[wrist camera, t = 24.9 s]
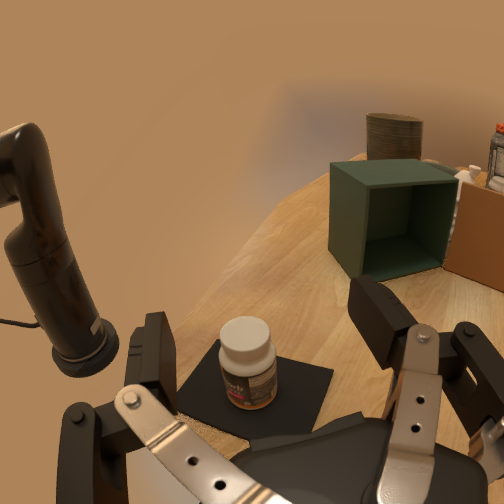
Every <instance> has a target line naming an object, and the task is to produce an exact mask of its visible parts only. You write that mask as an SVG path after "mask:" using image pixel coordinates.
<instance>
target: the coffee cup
mask: <svg viewBox="0 0 504 504" xmlns="http://www.w3.org/2000/svg"><path fill="white" fill-rule="evenodd" d="M489 186H490V190H493V191H496V192H499V193H502V194H504V178H503V177H499V176H494V177H493V180H491V181H489Z"/></svg>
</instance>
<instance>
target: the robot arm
mask: <svg viewBox="0 0 504 504" xmlns="http://www.w3.org/2000/svg"><path fill="white" fill-rule="evenodd" d="M17 202H20V203H21V208H22V213H23V221H22V223H21V224H20V225H19V226H17V227H16V228H15V229H14V230H13V231H12V232H11V233H10V234H9V235H8V236H7V238H6V239H5V242H4V250H5V253H6V255H7V257H8V260H9V262H10V264H11V267H12V269H13V271H14V273H15V276H16V277H17V280H18V282H19V283H20V286H21V288H22V290H23V292H24V294H25V296H26V298H27V300H28V302H29V303H30V305H31V307H32V309H33V311H34V313H35V318H36V319H37V321H38V322H37V323H34V324H28V323H22V322H17V321H11V320H4V319H0V323H4V324H10V325H16V326H20V327H26V328H37V327H41V328H42V329H43V330H45V332H46V334H47V335H48V337H49V339H50V341H51V342H52V344H53V346H54V347H55V349H56V351H57V353H58V355H59V356H60V358H61V359H62V360H64V361H65V362H68V363H73V364H76V363H82V362H85V361H88V360H90V359H92V358H93V357H95V356H96V355H97V354H99V353H100V352H101V351H102V349H103V348H104V347H105V345H106V343H107V340H108V331H107V329H106V327H105V325H104V324H103V322H102V320H101V318H100V316H99V314H98V311H97V309H96V307H95V305H94V302H93V300H92V298H91V296H90V293H89V291H88V289H87V286H86V284H85V281H84V279H83V276H82V274H81V272H80V269H79V266H78V264H77V261H76V259H75V256H74V254H73V251H72V248H71V246H70V242H69V240H68V237H67V234H66V231H65V228H64V224H63V217H62V211H61V206H60V202H59V198H58V195H57V190H56V186H55V181H54V176H53V171H52V165H51V160H50V155H49V150H48V146H47V143H46V140H45V138H44V135H43V133H42V131H41V130H40V128H39V127H38V126H37V125H35V124H34V123H23V124H20V125H18V126H16V127H13V128H10V129H8V130H6V131H4V132H2V133H0V208H2V207H5V206H8V205H11V204H14V203H17ZM348 313H349V316H350V318H351V320H352V321H353V323H354V324H355V326H356V328H357V329H358V331H359V332H360V334H361V336H362V337H363V339H364V341H365V342H366V344H367V345H368V347H369V349H370V350H371V352H372V354H373V355H374V357H375V359H376V360H377V362H378V364H379V365H380V367H381V369H382V370H385V369H387V368H390V367H392V369H393V370H394V372H393V374H392V378H391V383H390V388H389V392H388V396H387V401H386V405H385V409H384V412H383V414H382V417H381V419H380V418H364V416H363V414H362V412H361V411H359V412H357V413H354V414H351V415H347V416H344V417H341V418H338V419H335V420H333V421H332V422H330V423H328V424H326V425H324V426H323V427H321V428H319V429H317V430H315V431H314V432H312V433H309V434H277V435H273V436H268V437H263V438H258V439H253V440H249V443H250V447H249V448H247V449H245V450H243V451H241V452H239V453H238V454H236V455H235V456H233V457H232V458H231V459H230V460H227V459H226V458H225V457H224V456H223V455H221V454H220V453H219V452H218V451H217V450H215V449H214V448H213V447H212V446H211V445H209V444H208V443H207V442H206V441H205V440H204V439H202V438H201V437H200V436H199V435H198V434H197V433H196V432H195V431H194V430H192V429H191V428H190V427H189V426H188V425H187V424H185V423H184V422H180V421H178V420H177V419H176V418H175V417H174V415H178V413H177V385H176V347H175V341H174V337H173V335H172V332H171V329H170V326H169V323H168V320H167V317H166V314H165V312H164V311H163V312H155V313H148V314H146V319H145V327H137V328H136V329H135V331H134V332H133V334H132V336H131V338H130V344H129V351H128V359H127V366H126V374H125V383H124V387H123V388H122V389H121V390H120V391H119V392H118V393H117V394H116V396H115V399H114V401H112V402H110V403H107V404H104V405H101V406H98V407H96V408H93V407H92V406H91V405H89V404H88V403H84V402H78V403H74V404H72V405H71V406H69V407H68V408H67V409H66V411H65V413H64V415H63V419H62V427H61V435H60V444H59V455H58V467H57V486H56V504H129V500H128V487H127V473H126V472H127V471H126V453H129V452H132V451H135V450H137V449H140V448H143V447H147V448H148V449H149V450H150V451H151V452H152V454H154V456H155V457H156V458H157V459H158V460H159V461H160V462H161V463H162V464H163V465H164V466H165V468H166V469H167V470H168V471H169V472H170V473H171V474H172V475H173V476H174V477H175V478H176V479H177V480H178V481H179V482H180V483H181V484H182V485H183V486H185V487H186V488H187V489H188V490H189V491H190V492H191V493H192V494H193V495H194V496H195V497H196V498H197V499H198V500H200V501H201V502H200V503H199V504H488V485H489V484H491V483H492V482H493V481H495V480H498V479H502V478H504V359H503V358H502V356H501V355H500V354H499V352H498V351H497V350H496V348H495V347H494V346H493V345H492V343H491V342H490V341H489V339H488V338H487V337H486V336H485V334H484V333H483V332H482V331H481V330H480V328H479V327H478V326H477V325H475V324H473V323H471V322H460V323H458V324H457V325H456V327H455V329H454V331H453V332H442V333H438V332H437V331H436V330H435V329H434V328H433V327H431V326H429V325H426V324H419V323H418V322H417V321H416V320H415V318H414V317H413V316H412V315H411V313H410V312H409V311H408V310H407V309H406V307H405V306H404V305H403V304H401V301H400V300H399V299H398V298H396V295H395V294H394V293H393V292H392V291H391V290H390V289H389V288H388V287H386V286H384V285H383V284H381V283H379V284H377V283H376V282H375V281H374V280H373V279H372V277H371V276H370V275H363V276H358V277H353V278H352V279H351V282H350V290H349V298H348ZM467 366H468V368H469V369H470V371H471V372H472V374H473V375H474V377H475V378H476V381H477V385H476V384H475V382H474V381H473V379H472V377H471V376H470V374H469V373H468V371H467V370H466V368H467ZM442 389H443V391H444V393H445V394H446V396H447V398H448V400H449V401H450V403H451V405H452V407H453V408H454V410H455V412H456V414H457V415H458V417H459V419H460V421H461V423H462V425H463V426H464V428H465V430H466V432H467V434H468V436H469V438H470V441H469V452H468V456H466V455H464V454H461V453H459V452H457V451H454V450H452V449H450V448H447V447H445V446H443V445H440V444H438V443H436V442H435V440H436V434H437V427H438V420H439V411H440V402H441V391H442Z"/></svg>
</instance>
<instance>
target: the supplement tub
mask: <svg viewBox="0 0 504 504" xmlns="http://www.w3.org/2000/svg"><path fill="white" fill-rule="evenodd" d="M494 176H499V177H503V178H504V124H499V123H497V126H496V133H495V134H494V135H493V136H492V139H491V144H490V156H489V165H488V172H487V180H486V187H485V188H487V189H490V186H489V181H491V180H493V177H494Z"/></svg>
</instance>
